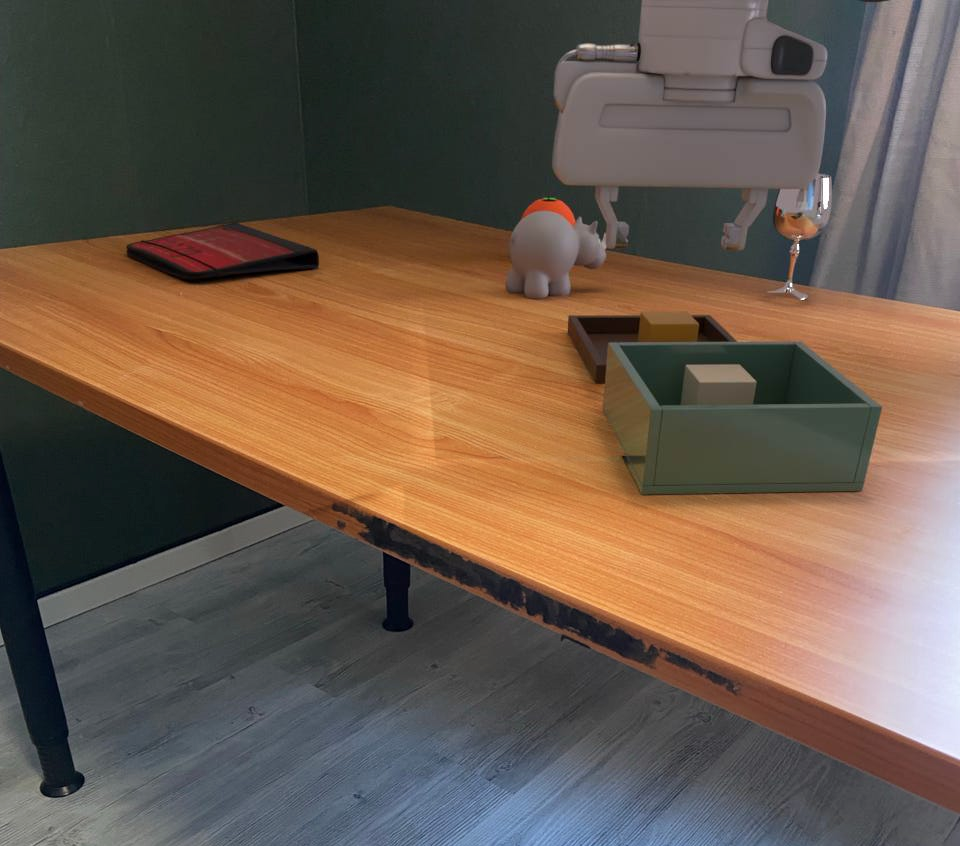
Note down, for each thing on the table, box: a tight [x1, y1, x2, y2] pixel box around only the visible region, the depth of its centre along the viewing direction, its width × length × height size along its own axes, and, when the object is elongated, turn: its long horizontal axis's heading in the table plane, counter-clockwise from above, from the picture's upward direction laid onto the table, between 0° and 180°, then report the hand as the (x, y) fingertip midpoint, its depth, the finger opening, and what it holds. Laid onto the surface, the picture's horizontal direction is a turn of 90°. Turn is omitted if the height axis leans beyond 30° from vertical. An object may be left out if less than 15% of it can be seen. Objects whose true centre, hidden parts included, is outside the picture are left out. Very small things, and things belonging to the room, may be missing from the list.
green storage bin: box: [602, 340, 883, 496], centre depth 68 cm, size 14×14×6 cm
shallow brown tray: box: [567, 314, 739, 385], centre depth 86 cm, size 13×15×2 cm
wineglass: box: [766, 173, 833, 301], centre depth 105 cm, size 6×6×12 cm
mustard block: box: [638, 310, 699, 342], centre depth 83 cm, size 4×4×4 cm
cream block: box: [681, 364, 756, 405], centre depth 70 cm, size 4×4×4 cm
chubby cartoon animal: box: [504, 211, 607, 300], centre depth 105 cm, size 7×12×8 cm, turn 119°
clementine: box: [520, 196, 576, 226], centre depth 122 cm, size 8×7×7 cm
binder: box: [125, 221, 320, 280], centre depth 119 cm, size 16×2×21 cm
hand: (674, 248), depth 79 cm, fingers open, 8 cm apart
